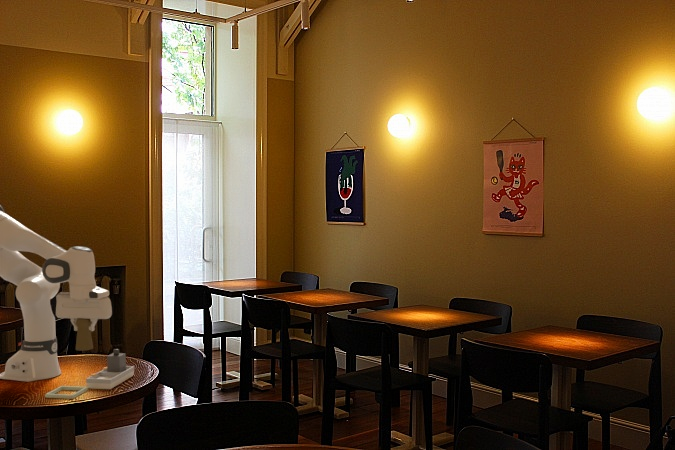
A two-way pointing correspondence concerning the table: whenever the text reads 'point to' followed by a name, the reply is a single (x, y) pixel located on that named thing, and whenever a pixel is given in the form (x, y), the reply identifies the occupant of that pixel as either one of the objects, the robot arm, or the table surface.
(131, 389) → the table surface
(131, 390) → the table surface
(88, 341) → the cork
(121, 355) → the grey knobbed block
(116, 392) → the table surface
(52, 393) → the tray frame
